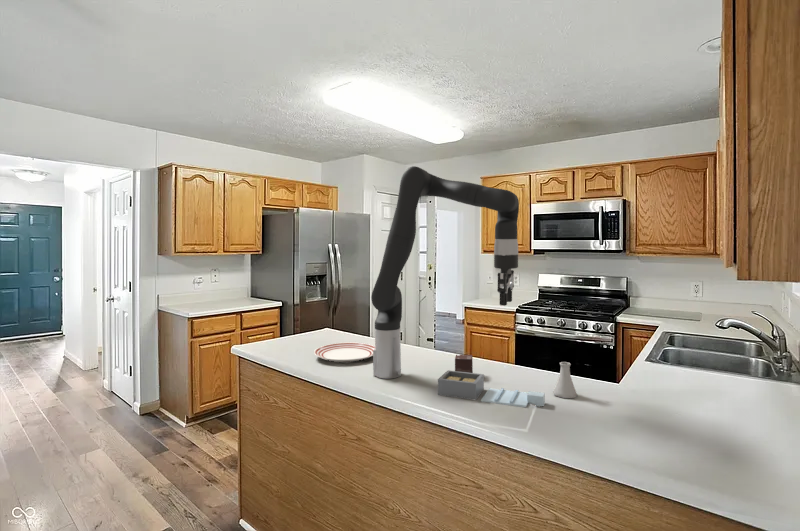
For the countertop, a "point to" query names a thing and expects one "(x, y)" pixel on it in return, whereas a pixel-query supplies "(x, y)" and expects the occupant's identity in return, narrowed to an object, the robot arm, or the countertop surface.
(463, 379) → the brass block
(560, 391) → the flask
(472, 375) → the tub
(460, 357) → the box
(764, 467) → the countertop surface
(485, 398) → the lid
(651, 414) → the countertop surface
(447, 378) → the brass block
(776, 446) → the countertop surface
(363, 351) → the dinner plate
